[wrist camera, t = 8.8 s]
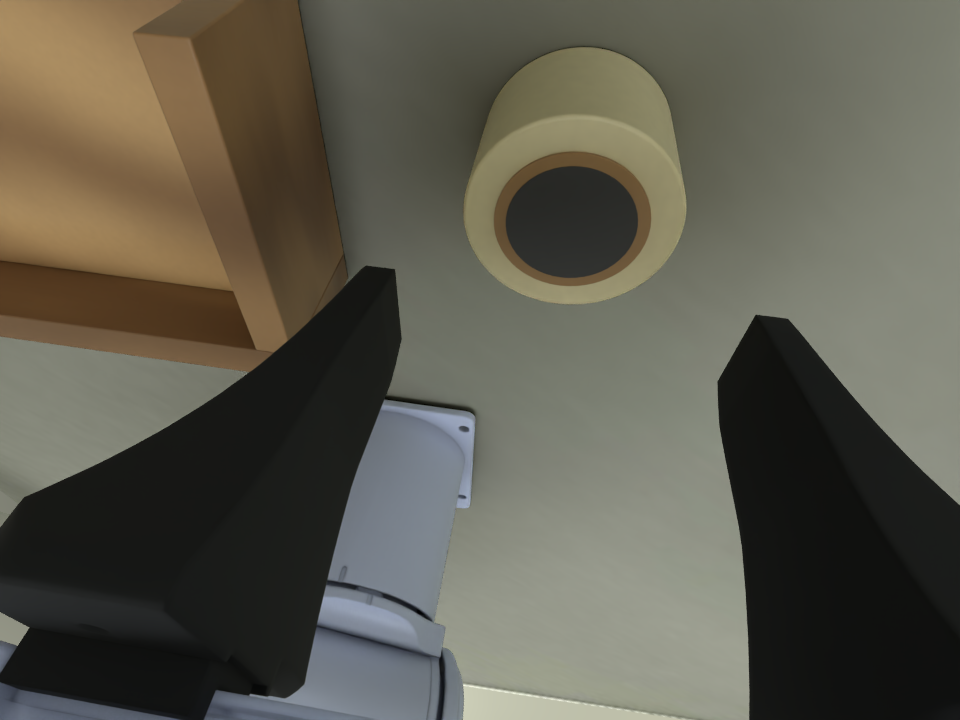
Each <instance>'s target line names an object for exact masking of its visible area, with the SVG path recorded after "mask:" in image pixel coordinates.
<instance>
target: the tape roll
mask: <svg viewBox="0 0 960 720" xmlns="http://www.w3.org/2000/svg"><path fill="white" fill-rule="evenodd" d="M463 216H464V225H465V230H466V234H467V237H468V239H469V242H470V245H471V247H472V249H473V251H474V253H475V254H476V256H477V258H478V259H479V260H480V262H481V263H482V265H483V266H484V267H485V268H486V269H487V270H488V271H489V272H490V273H491V274H492V275H493V276H494V277H495V278H496V279H498V280H499V281H500V282H501V283H503V284H504V285H506V286H507V287H509V288H511V289H512V290H514V291H516V292H518V293H520V294H523V295H525V296H528V297H530V298H533V299H537V300H540V301H544V302H550V303H556V304H587V303H594V302H599V301H604V300H607V299H610V298H614V297H617V296H619V295H621V294H624V293H626V292H628V291H630V290H632V289H634V288H635V287H637V286H639V285H641V284H642V283H643V282H645V281H646V280H647V279H649V278H650V277H651V276H652V275H654V274H655V273H656V272H657V271H658V270H659V269H660V268H661V267H662V266H663V264H664V263H665V262H666V261H667V260H668V258H669V257H670V255H671V254H672V252H673V250H674V249H675V247H676V245H677V243H678V241H679V239H680V237H681V234H682V231H683V227H684V224H685V218H686V193H685V188H684V183H683V177H682V172H681V166H680V161H679V155H678V150H677V144H676V139H675V133H674V128H673V123H672V117H671V112H670V108H669V105H668V102H667V100H666V97H665V95H664V94H663V92H662V90H661V88H660V86H659V85H658V84H657V82H656V81H655V80H654V78H653V77H652V76H651V75H650V74H649V73H648V72H647V71H646V70H645V69H644V68H643V67H641V66H640V65H638V64H637V63H636V62H634V61H633V60H631V59H629V58H627V57H625V56H623V55H621V54H618V53H615V52H612V51H609V50H605V49H599V48H593V47H576V48H568V49H563V50H559V51H555V52H551V53H549V54H547V55H544V56H542V57H539V58H537V59H536V60H534V61H532V62H530V63H529V64H527V65H526V66H524V67H523V68H522V69H521V70H519V71H518V72H517V73H516V74H515V75H514V76H513V77H512V78H511V79H510V80H509V81H508V82H507V83H506V84H505V86H504V87H503V88H502V90H501V91H500V92H499V94H498V96H497V97H496V99H495V101H494V103H493V105H492V108H491V110H490V112H489V115H488V118H487V122H486V125H485V128H484V132H483V135H482V138H481V141H480V145H479V148H478V151H477V155H476V158H475V161H474V165H473V168H472V171H471V174H470V178H469V181H468V184H467V188H466V192H465V196H464V205H463Z"/></svg>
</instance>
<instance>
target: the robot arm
mask: <svg viewBox="0 0 960 720" xmlns="http://www.w3.org/2000/svg"><path fill="white" fill-rule="evenodd" d="M401 339H402V338H401V328H400V317H399V307H398V297H397V286H396V276H395V269H388V268H380V267H372V266H365V267H364V268H362V269H361V270H360V271H359V272H358V273H357V274H356V275H355V276H354V277H353V278H352V279H351V280H350V281H349V282H348V283H347V284H346V285H345V286H344V287H343V289H342V290H341V291H340V292H339V293H338V294H337V295H336V296H335V297H334V298H333V299H332V300H331V301H330V302H329V303H328V304H327V305H326V306H325V307H324V308H323V309H322V310H320V311H319V312H318V313H317V314H316V315H315V316H314V317H313V318H312V319H311V320H310V321H309V322H308V323H307V324H306V325H305V326H303V327H302V328H301V329H300V330H299V331H298V332H297V333H296V334H295V335H294V336H293V337H291V338H290V339H289V340H288V341H287V342H286V343H284V344H283V345H282V346H281V347H280V348H279V349H277V350H276V351H275V352H274V353H273V354H271V355H270V356H269V357H268V358H267V359H266V360H264V361H263V362H262V363H261V364H259V365H258V366H257V367H256V368H254V369H253V370H252V371H250V372H249V373H248V374H247V375H245V376H244V377H243V378H241V379H240V380H238V381H237V382H236V383H234V384H233V385H232V386H230V387H229V388H227V389H226V390H225V391H223V392H222V393H220V394H219V395H217V396H216V397H214V398H213V399H211V400H210V401H208V402H207V403H205V404H204V405H202V406H200V407H199V408H197V409H196V410H194V411H192V412H191V413H189V414H188V415H186V416H184V417H183V418H181V419H180V420H178V421H176V422H175V423H173V424H171V425H170V426H168V427H166V428H165V429H163V430H161V431H159V432H158V433H156V434H154V435H152V436H150V437H149V438H147V439H145V440H143V441H141V442H140V443H138V444H136V445H134V446H132V447H130V448H128V449H126V450H124V451H122V452H120V453H118V454H117V455H115V456H113V457H111V458H109V459H107V460H105V461H103V462H101V463H99V464H97V465H95V466H93V467H90V468H88V469H86V470H84V471H82V472H79V473H77V474H75V475H73V476H71V477H68V478H66V479H64V480H62V481H60V482H58V483H55V484H53V485H51V486H49V487H47V488H44V489H42V490H40V491H38V492H35V493H33V494H31V495H28V496H26V497H24V498H23V499H22V501H21V502H20V503H19V504H18V505H17V507H16V508H15V509H14V510H13V512H12V513H11V514H10V516H9V517H8V518H7V519H6V521H5V522H4V523H3V525H2V526H1V527H0V612H1V613H3V614H5V615H7V616H9V617H11V618H13V619H15V620H16V621H18V622H20V623H22V624H24V625H26V626H28V627H30V628H29V629H28V631H27V633H26V634H25V636H24V637H23V639H22V640H21V642H20V643H19V645H18V646H16V645H13V644H10V643H7V642H3V641H0V720H463V709H464V707H463V706H464V691H463V682H462V677H461V674H460V671H459V669H458V667H457V663H456V660H455V658H454V655H453V653H452V652H451V651H450V650H449V649H447V648H443V647H442V645H443V640H444V634H445V626H443V625H440V624H437V623H434V620H435V615H436V609H437V604H438V599H439V594H440V589H441V583H442V578H443V573H444V568H445V562H446V557H447V552H448V547H449V541H450V536H451V531H452V526H453V520H454V515H455V510H456V507H457V508H468V507H469V506H470V502H471V487H472V470H473V453H474V435H475V416H474V415H473V414H472V413H470V412H467V411H461V410H455V409H448V408H441V407H434V406H427V405H420V404H413V403H406V402H399V401H392V400H385V396H386V394H387V391H388V388H389V386H390V383H391V380H392V376H393V372H394V369H395V365H396V361H397V356H398V352H399V348H400V344H401ZM718 409H719V425H720V432H721V437H722V443H723V448H724V453H725V458H726V464H727V469H728V474H729V479H730V484H731V489H732V494H733V499H734V504H735V509H736V514H737V519H738V524H739V530H740V537H741V544H742V553H743V565H744V577H745V589H746V606H747V624H748V647H749V688H750V703H749V720H960V505H959V504H958V503H956V502H955V501H954V500H953V499H952V498H951V497H950V496H949V495H948V494H947V493H946V492H945V491H943V490H942V489H941V488H940V487H939V486H938V485H937V484H936V483H935V482H934V481H933V480H932V479H930V478H929V477H928V476H927V475H926V474H925V473H924V472H923V471H922V470H921V469H920V468H919V467H918V466H917V465H916V464H915V463H914V462H913V461H912V460H911V459H910V458H909V457H908V456H907V455H906V454H905V453H904V452H903V451H902V450H901V449H900V448H899V447H898V446H897V445H896V444H895V443H894V442H893V441H892V439H891V438H890V437H889V436H888V435H887V434H886V433H885V432H884V431H883V430H882V429H881V428H880V427H879V426H878V425H877V423H876V422H875V421H874V420H873V419H872V418H871V417H870V416H869V415H868V413H867V412H866V411H865V410H864V409H863V408H862V407H861V406H860V404H859V403H858V402H857V401H856V400H855V399H854V397H853V396H852V395H851V394H850V393H849V392H848V390H847V389H846V388H845V387H844V386H843V384H842V383H841V382H840V381H839V380H838V378H837V377H836V376H835V375H834V374H833V372H832V371H831V370H830V369H829V368H828V366H827V365H826V364H825V363H824V361H823V360H822V359H821V358H820V357H819V355H818V354H817V353H816V352H815V350H814V349H813V348H812V347H811V346H810V344H809V343H808V342H807V341H806V339H805V338H804V337H803V336H802V335H801V333H800V332H799V331H798V330H797V329H796V327H795V326H794V325H793V324H792V323H791V322H790V321H789V320H788V319H785V318H777V317H769V316H761V315H755V317H754V319H753V321H752V322H751V324H750V326H749V327H748V329H747V331H746V333H745V334H744V336H743V338H742V340H741V341H740V343H739V345H738V347H737V348H736V350H735V352H734V354H733V355H732V357H731V359H730V361H729V362H728V364H727V366H726V368H725V369H724V371H723V373H722V375H721V376H720V378H719V380H718Z"/></svg>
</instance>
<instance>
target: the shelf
mask: <svg viewBox="0 0 960 720" xmlns="http://www.w3.org/2000/svg"><path fill="white" fill-rule="evenodd" d="M347 279H348V276H347V270H346V265H345V259H344V255H343V248H342V242H341V237H340V231H339V226H338V220H337V215H336V209H335V204H334V198H333V193H332V187H331V182H330V176H329V171H328V165H327V160H326V154H325V149H324V143H323V138H322V132H321V127H320V121H319V116H318V110H317V105H316V99H315V94H314V88H313V83H312V77H311V72H310V66H309V61H308V55H307V50H306V44H305V39H304V33H303V28H302V22H301V17H300V11H299V6H298V0H0V336H1V337H8V338H15V339H22V340H29V341H36V342H43V343H50V344H57V345H64V346H71V347H78V348H85V349H92V350H99V351H106V352H113V353H120V354H127V355H134V356H141V357H148V358H155V359H162V360H169V361H176V362H183V363H190V364H197V365H204V366H211V367H218V368H225V369H232V370H239V371H246V372H250V371H252V370H253V369H254V368H256V367H257V366H258V365H259V364H261V363H262V362H263V361H264V360H266V359H267V358H268V357H269V356H270V355H271V354H273V353H274V352H275V351H276V350H277V349H279V348H280V347H281V346H282V345H283V344H284V343H286V342H287V341H288V340H289V339H290V338H291V337H293V336H294V335H295V334H296V333H297V332H298V331H299V330H300V329H301V328H302V327H303V326H305V325H306V324H307V323H308V322H309V321H310V320H311V319H312V318H313V317H314V316H315V315H316V314H317V313H318V312H319V311H320V310H322V309H323V308H324V307H325V306H326V305H327V304H328V303H329V302H330V301H331V300H332V299H333V298H334V297H335V296H336V295H337V294H338V293H339V292H340V291H341V290H342V289H343V287H344V285H345V283H346V281H347Z"/></svg>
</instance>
